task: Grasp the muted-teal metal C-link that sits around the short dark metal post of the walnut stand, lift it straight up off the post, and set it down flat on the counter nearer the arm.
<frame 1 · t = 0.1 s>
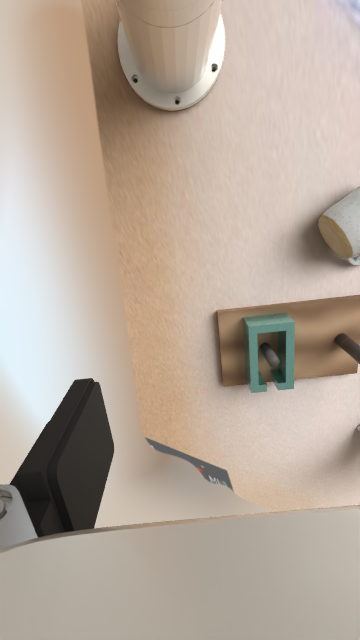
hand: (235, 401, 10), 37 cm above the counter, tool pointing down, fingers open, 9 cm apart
ceramic mug: (350, 226, 44), on the counter
c link: (264, 347, 49), point 1 cm above the counter, touching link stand
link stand: (262, 343, 50), on the counter
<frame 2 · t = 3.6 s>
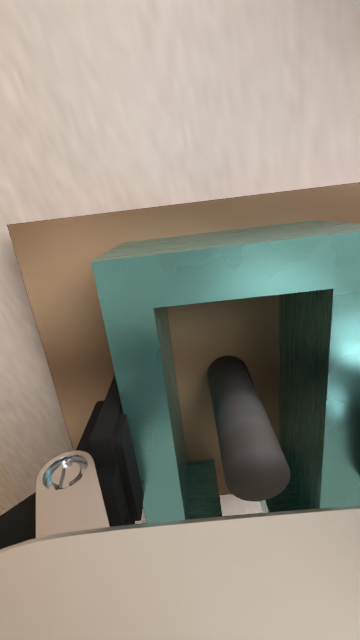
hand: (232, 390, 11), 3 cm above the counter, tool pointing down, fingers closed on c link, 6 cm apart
c link: (227, 373, 12), point 1 cm above the counter, touching gripper, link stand
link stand: (222, 356, 14), on the counter
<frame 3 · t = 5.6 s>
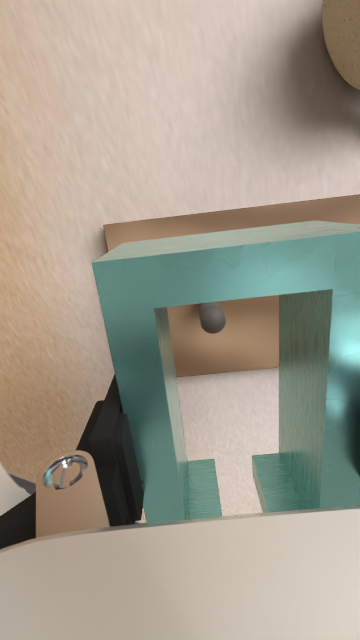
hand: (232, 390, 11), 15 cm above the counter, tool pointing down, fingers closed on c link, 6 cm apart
c link: (227, 373, 12), point 14 cm above the counter, touching gripper
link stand: (205, 295, 25), on the counter
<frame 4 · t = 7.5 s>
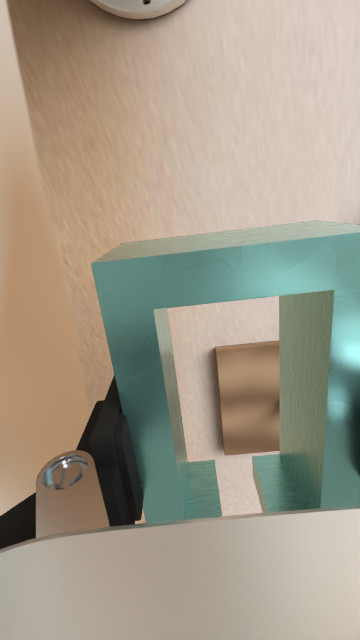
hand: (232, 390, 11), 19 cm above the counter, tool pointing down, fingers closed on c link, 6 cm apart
c link: (227, 374, 12), point 18 cm above the counter, touching gripper
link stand: (282, 393, 34), on the counter
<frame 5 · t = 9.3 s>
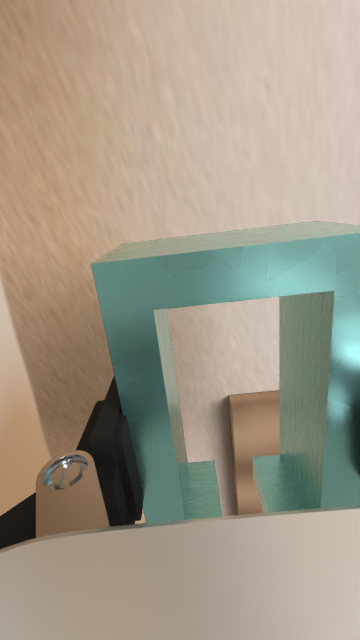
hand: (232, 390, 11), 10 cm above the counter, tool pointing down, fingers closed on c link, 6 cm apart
c link: (227, 374, 12), point 9 cm above the counter, touching gripper
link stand: (319, 454, 25), on the counter
when the fingers open (3 cm above the counter, at t = 11.2 s): c link drops 1 cm, on the counter.
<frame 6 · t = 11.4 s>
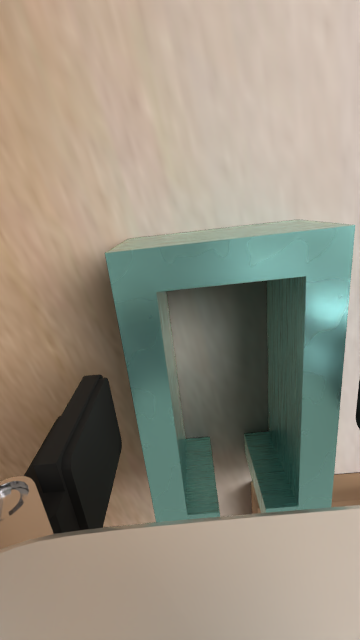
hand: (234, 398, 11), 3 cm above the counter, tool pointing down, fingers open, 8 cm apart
c link: (221, 357, 14), on the counter
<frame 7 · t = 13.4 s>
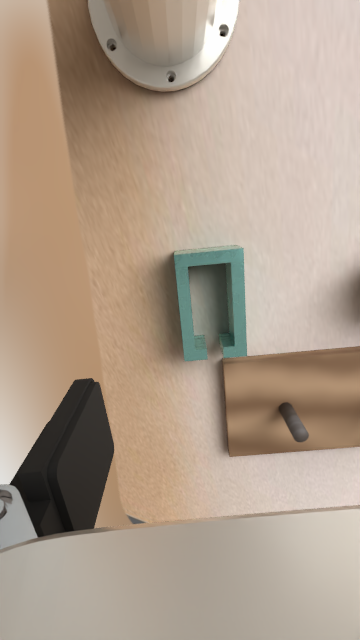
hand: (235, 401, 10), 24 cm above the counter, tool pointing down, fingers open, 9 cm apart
c link: (208, 298, 34), on the counter
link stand: (281, 401, 38), on the counter
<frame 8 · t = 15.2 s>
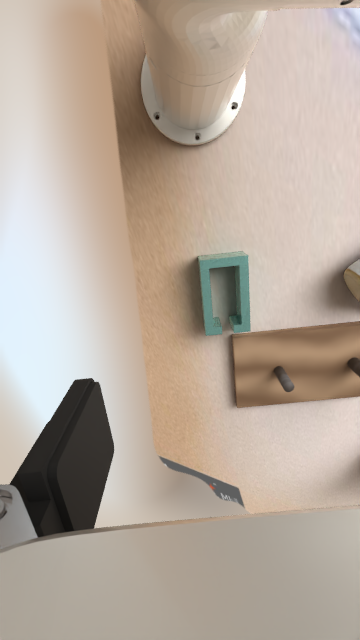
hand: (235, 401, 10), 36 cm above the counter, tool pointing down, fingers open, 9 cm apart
c link: (222, 290, 46), on the counter
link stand: (275, 365, 51), on the counter
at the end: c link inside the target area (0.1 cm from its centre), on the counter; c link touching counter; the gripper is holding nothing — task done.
